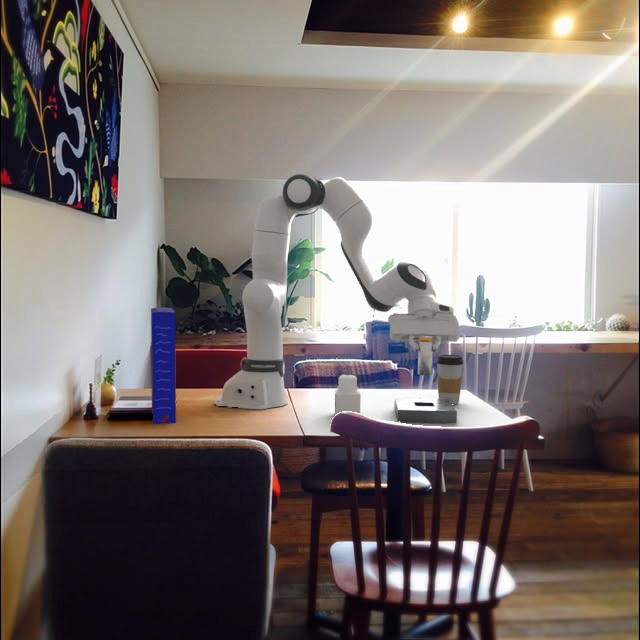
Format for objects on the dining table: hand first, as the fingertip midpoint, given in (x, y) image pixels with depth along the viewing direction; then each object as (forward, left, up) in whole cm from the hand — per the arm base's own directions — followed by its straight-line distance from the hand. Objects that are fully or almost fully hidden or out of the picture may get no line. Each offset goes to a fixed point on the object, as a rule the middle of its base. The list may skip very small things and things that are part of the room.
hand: (425, 350), depth 173 cm
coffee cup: (+10, +21, -19) cm, 30 cm away
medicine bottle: (-22, -1, -19) cm, 29 cm away
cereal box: (-74, -5, -19) cm, 77 cm away
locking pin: (0, +1, -7) cm, 7 cm away
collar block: (0, +1, -19) cm, 19 cm away
